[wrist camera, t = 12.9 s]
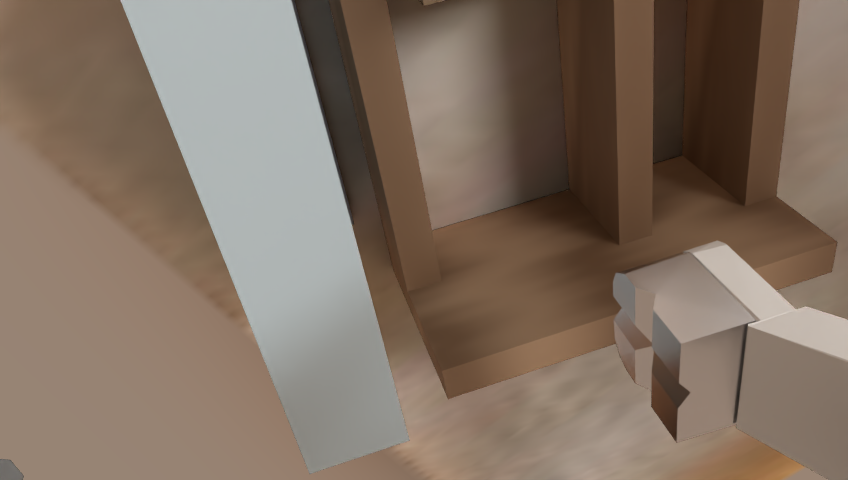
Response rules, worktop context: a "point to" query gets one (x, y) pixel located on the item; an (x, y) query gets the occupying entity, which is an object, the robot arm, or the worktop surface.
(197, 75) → the pale blue-grey board
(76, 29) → the worktop surface
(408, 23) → the worktop surface
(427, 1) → the offcut long
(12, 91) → the worktop surface
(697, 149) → the rack
